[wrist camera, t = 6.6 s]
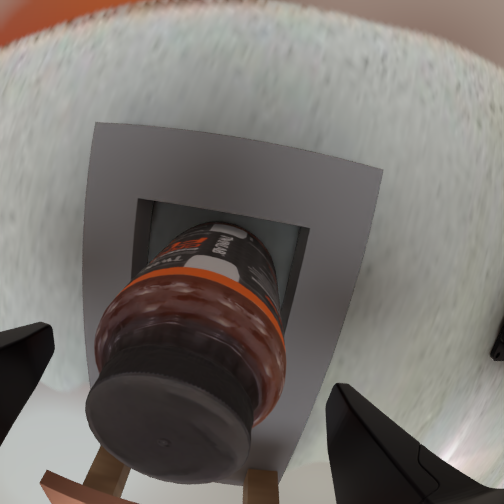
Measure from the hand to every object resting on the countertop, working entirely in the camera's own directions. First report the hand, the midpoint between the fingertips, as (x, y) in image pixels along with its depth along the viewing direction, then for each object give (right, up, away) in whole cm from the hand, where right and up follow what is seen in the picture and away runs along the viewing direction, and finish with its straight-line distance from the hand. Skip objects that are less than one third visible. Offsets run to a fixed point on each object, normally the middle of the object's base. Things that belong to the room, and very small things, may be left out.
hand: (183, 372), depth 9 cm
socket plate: (-1, -2, +9) cm, 9 cm away
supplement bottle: (0, +2, +8) cm, 9 cm away
